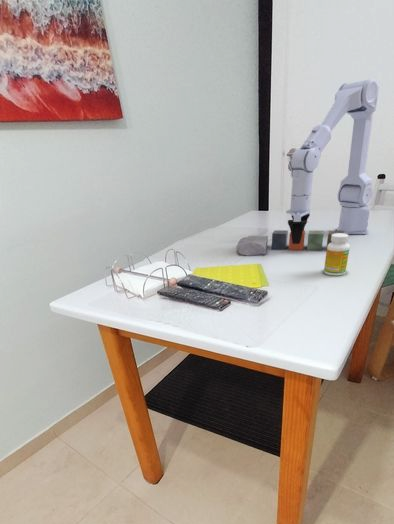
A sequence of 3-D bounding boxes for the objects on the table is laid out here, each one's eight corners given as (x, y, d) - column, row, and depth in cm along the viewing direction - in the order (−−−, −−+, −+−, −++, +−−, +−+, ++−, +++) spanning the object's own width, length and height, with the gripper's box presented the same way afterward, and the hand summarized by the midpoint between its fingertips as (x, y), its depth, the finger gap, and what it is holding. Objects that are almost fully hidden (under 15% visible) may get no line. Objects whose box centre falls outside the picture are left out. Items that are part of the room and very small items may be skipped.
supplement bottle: (342, 277, 86) (349, 238, 81) (321, 274, 89) (326, 236, 83) (347, 270, 90) (353, 233, 85) (326, 268, 92) (331, 231, 87)
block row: (341, 246, 108) (343, 230, 105) (341, 250, 104) (343, 234, 101) (273, 245, 115) (274, 230, 112) (271, 249, 111) (272, 233, 108)
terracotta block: (303, 246, 111) (305, 230, 109) (302, 249, 108) (304, 234, 105) (290, 245, 113) (291, 230, 110) (288, 249, 109) (289, 233, 107)
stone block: (237, 261, 109) (268, 254, 105) (234, 246, 106) (265, 239, 103) (241, 251, 119) (269, 245, 115) (238, 237, 116) (267, 231, 113)
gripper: (290, 191, 109) (287, 234, 116) (284, 199, 97) (281, 246, 105) (313, 190, 106) (308, 234, 114) (309, 198, 95) (305, 246, 102)
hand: (297, 240), depth 109 cm, fingers open, 7 cm apart
